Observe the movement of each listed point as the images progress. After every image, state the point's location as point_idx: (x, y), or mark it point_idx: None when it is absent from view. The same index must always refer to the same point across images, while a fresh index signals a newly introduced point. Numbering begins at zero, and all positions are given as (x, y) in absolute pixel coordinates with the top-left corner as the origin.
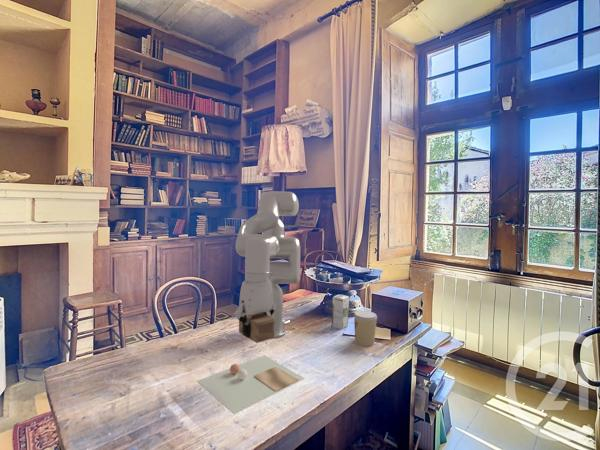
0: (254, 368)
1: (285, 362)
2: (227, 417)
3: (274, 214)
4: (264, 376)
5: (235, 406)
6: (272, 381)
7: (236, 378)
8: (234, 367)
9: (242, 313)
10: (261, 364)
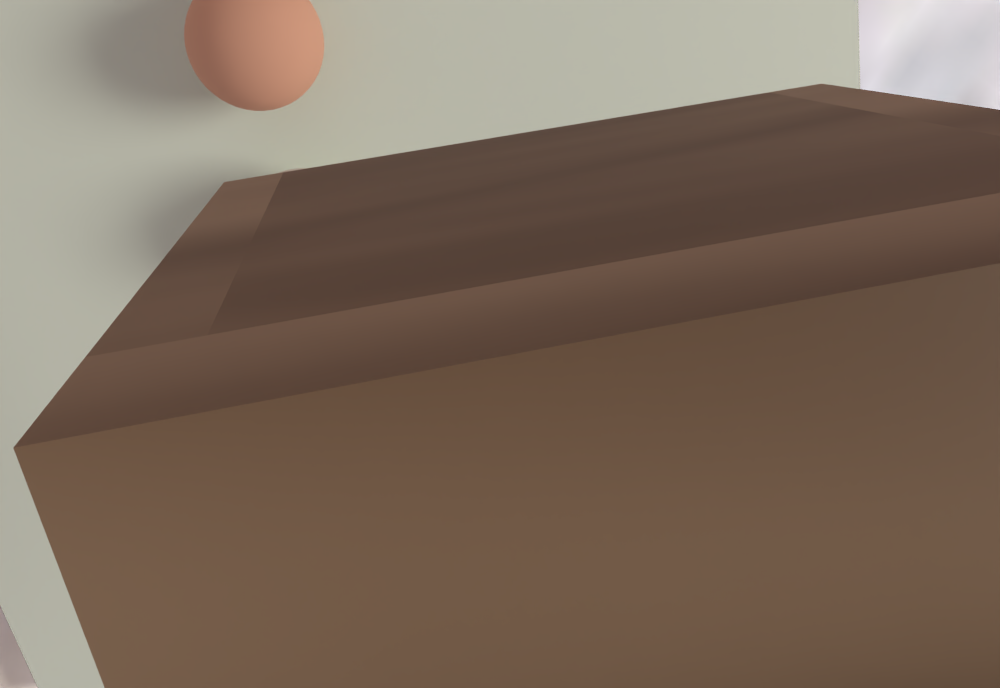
0: (545, 56)
1: (966, 42)
2: (8, 648)
3: None
4: None
5: None
6: None
7: (247, 170)
8: (231, 90)
9: (316, 408)
10: (672, 5)
